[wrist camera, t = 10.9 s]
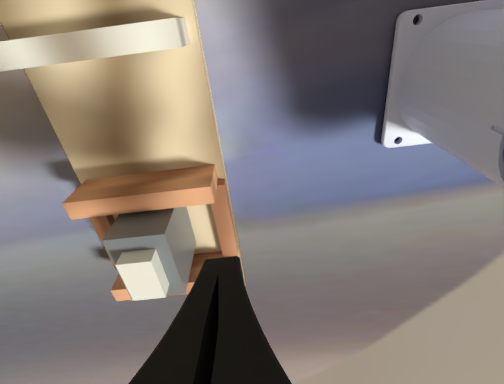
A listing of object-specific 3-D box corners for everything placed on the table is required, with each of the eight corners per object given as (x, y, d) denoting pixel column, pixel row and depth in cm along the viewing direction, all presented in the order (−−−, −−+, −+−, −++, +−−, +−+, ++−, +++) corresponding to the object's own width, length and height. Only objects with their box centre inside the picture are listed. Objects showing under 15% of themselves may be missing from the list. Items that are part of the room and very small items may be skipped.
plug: (181, 188, 20) (160, 246, 15) (196, 242, 23) (182, 306, 17) (131, 194, 20) (93, 253, 15) (152, 246, 23) (125, 312, 18)
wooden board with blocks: (130, -348, 10) (70, -544, 6) (245, 279, 26) (245, 317, 23) (-138, -299, 10) (-328, -459, 7) (140, 289, 27) (125, 329, 23)
